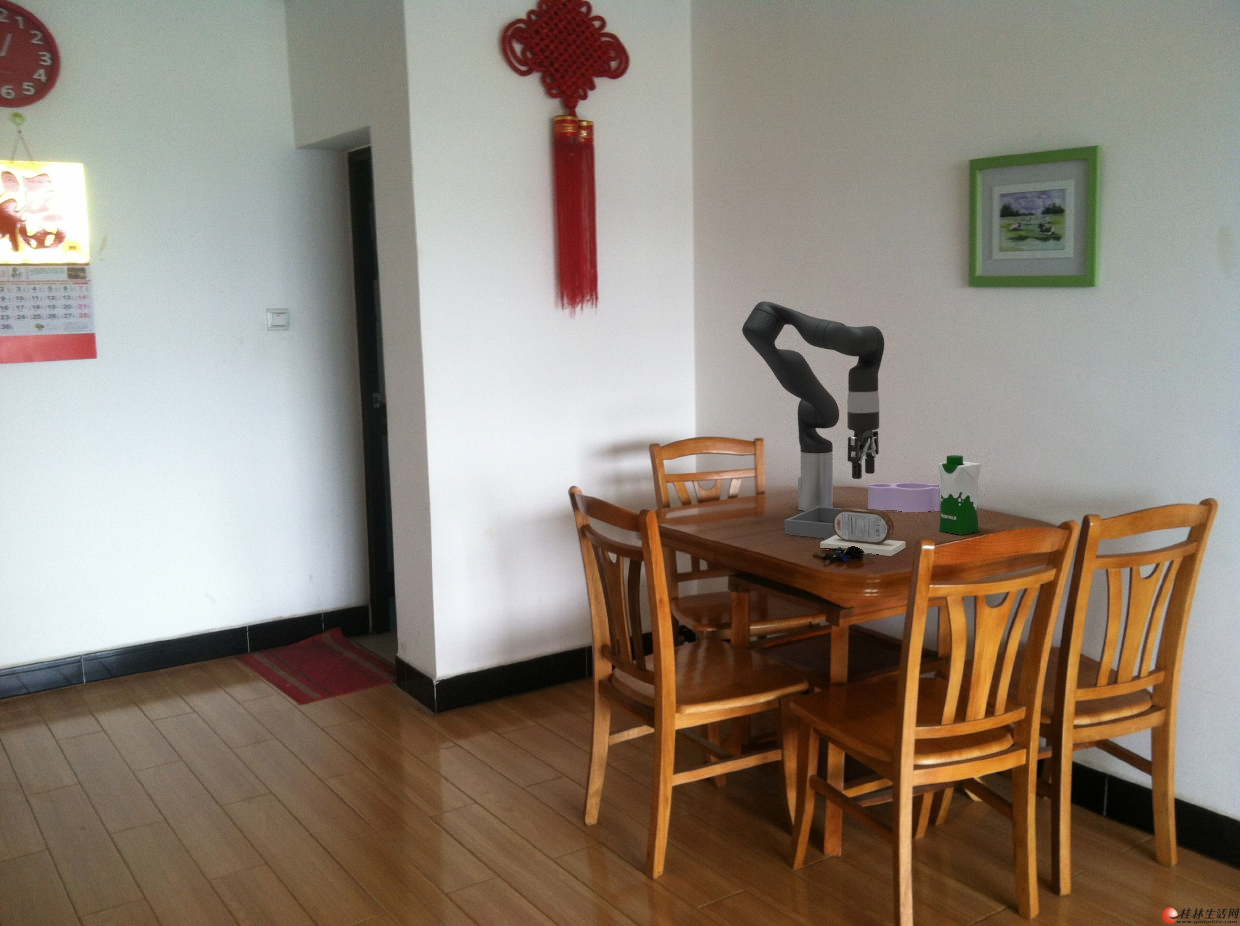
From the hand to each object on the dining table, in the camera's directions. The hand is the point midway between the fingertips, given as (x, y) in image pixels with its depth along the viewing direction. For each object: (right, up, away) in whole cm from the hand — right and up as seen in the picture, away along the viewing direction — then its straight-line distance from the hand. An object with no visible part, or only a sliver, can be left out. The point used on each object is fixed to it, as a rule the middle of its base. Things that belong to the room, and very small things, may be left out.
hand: (863, 476), depth 260 cm
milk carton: (+29, -15, +18) cm, 37 cm away
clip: (+23, -10, +51) cm, 57 cm away
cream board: (0, -18, +3) cm, 18 cm away
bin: (-4, -15, +25) cm, 29 cm away
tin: (0, -17, +2) cm, 17 cm away
